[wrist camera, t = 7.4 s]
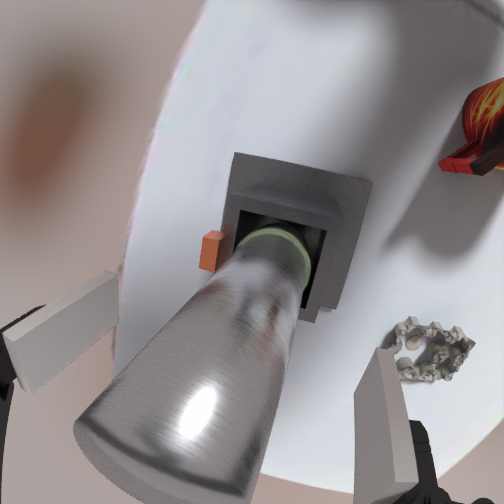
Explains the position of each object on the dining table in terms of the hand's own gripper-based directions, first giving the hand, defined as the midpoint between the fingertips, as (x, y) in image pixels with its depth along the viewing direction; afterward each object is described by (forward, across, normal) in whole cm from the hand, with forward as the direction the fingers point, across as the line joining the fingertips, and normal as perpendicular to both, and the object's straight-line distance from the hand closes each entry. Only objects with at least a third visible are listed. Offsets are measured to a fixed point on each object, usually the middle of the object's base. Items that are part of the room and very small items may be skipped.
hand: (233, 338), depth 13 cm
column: (+13, 0, 0) cm, 13 cm away
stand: (+21, 0, 0) cm, 21 cm away
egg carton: (+21, +20, -9) cm, 31 cm away
